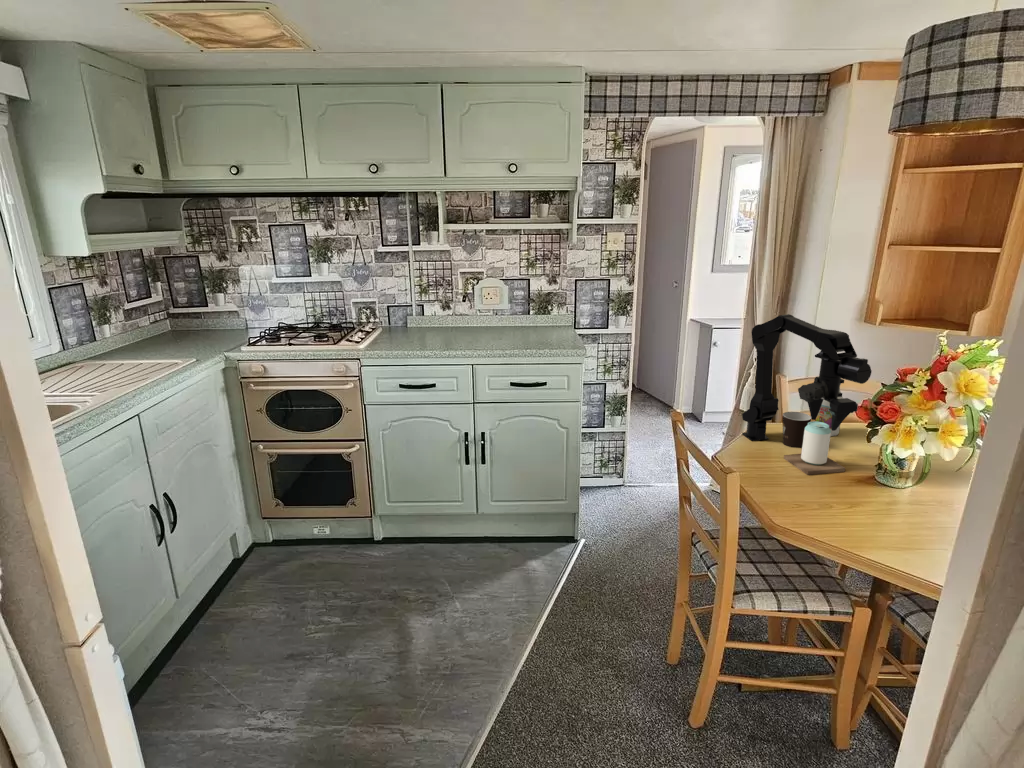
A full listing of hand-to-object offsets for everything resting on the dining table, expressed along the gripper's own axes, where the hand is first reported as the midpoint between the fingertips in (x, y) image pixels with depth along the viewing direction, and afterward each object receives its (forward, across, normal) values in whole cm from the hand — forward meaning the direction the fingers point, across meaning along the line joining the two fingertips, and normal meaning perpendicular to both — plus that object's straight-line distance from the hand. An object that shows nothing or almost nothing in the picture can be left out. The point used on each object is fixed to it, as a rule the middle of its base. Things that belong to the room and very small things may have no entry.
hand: (823, 424), depth 172 cm
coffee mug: (+13, -17, +3) cm, 22 cm away
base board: (+13, 0, -1) cm, 13 cm away
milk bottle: (+13, -23, +19) cm, 33 cm away
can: (+12, 0, -1) cm, 12 cm away
